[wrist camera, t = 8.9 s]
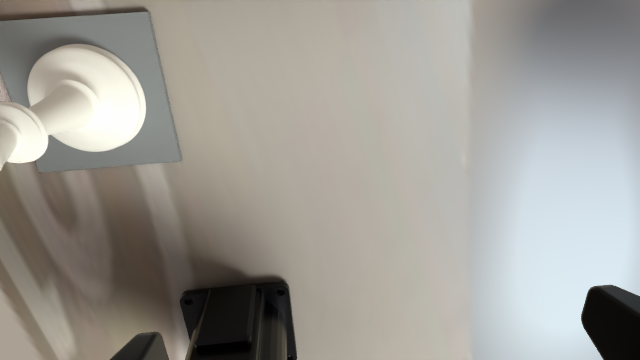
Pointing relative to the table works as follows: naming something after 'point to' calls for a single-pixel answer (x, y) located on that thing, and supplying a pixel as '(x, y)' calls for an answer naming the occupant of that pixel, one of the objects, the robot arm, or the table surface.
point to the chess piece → (73, 105)
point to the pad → (122, 41)
